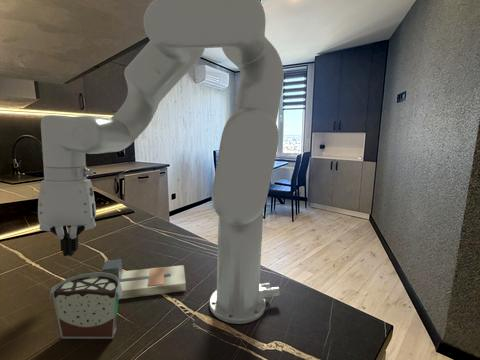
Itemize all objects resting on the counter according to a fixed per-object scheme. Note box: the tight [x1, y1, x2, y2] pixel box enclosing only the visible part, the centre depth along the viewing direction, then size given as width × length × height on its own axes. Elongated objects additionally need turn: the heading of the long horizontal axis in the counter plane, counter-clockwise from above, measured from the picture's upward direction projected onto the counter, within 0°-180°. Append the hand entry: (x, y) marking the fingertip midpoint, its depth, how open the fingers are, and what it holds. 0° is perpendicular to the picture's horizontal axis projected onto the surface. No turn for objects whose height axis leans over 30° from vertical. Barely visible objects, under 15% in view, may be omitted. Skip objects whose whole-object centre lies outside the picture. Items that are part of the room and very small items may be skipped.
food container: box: [48, 271, 122, 339], centre depth 49 cm, size 12×6×10 cm, turn 92°
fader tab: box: [101, 258, 123, 281], centre depth 61 cm, size 4×4×4 cm
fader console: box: [118, 265, 187, 300], centre depth 63 cm, size 22×9×2 cm, turn 105°
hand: (70, 253), depth 58 cm, fingers closed
